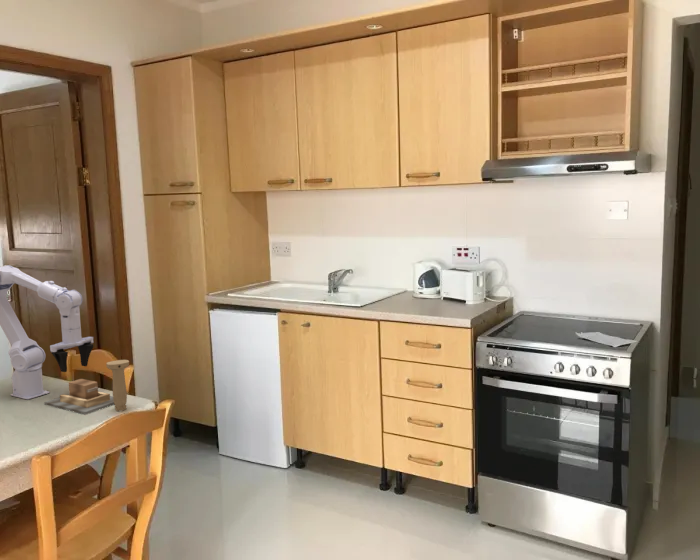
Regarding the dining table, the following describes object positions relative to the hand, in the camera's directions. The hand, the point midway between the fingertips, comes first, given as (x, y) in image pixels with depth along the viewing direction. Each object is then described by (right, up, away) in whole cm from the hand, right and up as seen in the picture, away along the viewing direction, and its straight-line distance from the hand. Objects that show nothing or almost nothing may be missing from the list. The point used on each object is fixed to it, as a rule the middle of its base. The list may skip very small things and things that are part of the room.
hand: (74, 368), depth 201 cm
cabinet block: (+6, -9, -6) cm, 12 cm away
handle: (+20, -11, -12) cm, 26 cm away
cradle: (+6, -10, -5) cm, 13 cm away
